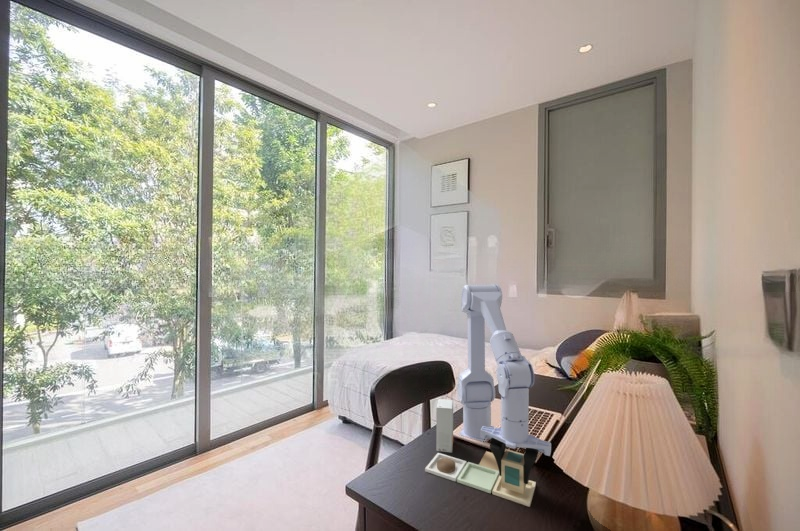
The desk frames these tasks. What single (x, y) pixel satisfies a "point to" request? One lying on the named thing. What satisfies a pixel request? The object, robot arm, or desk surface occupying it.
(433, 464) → the tray white
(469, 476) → the tray sage
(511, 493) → the tray sand
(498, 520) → the desk surface
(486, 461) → the cork pad
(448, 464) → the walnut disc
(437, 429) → the skincare box
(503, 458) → the beige block teal panels
